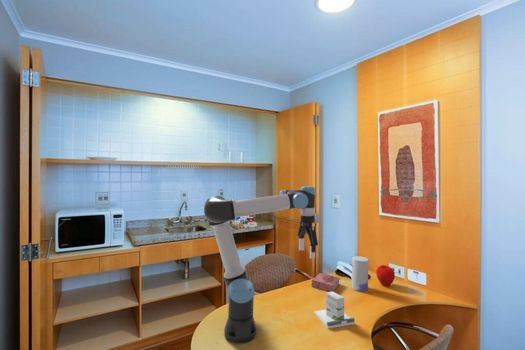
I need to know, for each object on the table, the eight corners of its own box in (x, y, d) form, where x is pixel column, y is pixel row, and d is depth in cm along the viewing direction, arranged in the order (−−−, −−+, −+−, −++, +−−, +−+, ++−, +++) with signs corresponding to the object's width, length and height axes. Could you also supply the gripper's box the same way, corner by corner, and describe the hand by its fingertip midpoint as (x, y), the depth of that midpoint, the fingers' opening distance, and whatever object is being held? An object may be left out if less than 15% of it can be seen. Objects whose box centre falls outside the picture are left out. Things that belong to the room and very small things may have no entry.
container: (354, 283, 180) (355, 254, 180) (369, 287, 175) (370, 258, 174) (349, 289, 172) (350, 258, 172) (365, 293, 167) (366, 262, 166)
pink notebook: (311, 287, 174) (311, 280, 174) (319, 279, 187) (320, 272, 187) (332, 293, 166) (332, 286, 166) (340, 285, 179) (340, 277, 179)
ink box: (344, 320, 134) (345, 297, 134) (337, 323, 132) (338, 299, 132) (331, 312, 142) (332, 290, 141) (325, 314, 139) (325, 292, 139)
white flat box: (328, 328, 129) (328, 323, 129) (314, 313, 142) (314, 308, 142) (354, 324, 133) (354, 319, 133) (338, 309, 147) (339, 304, 146)
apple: (372, 281, 184) (372, 262, 184) (387, 281, 186) (388, 262, 185) (381, 289, 173) (382, 269, 172) (398, 289, 174) (399, 269, 173)
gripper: (325, 219, 132) (324, 261, 132) (304, 211, 156) (303, 246, 156) (311, 219, 130) (310, 262, 130) (292, 211, 154) (291, 247, 154)
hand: (306, 253), depth 143 cm, fingers open, 13 cm apart
